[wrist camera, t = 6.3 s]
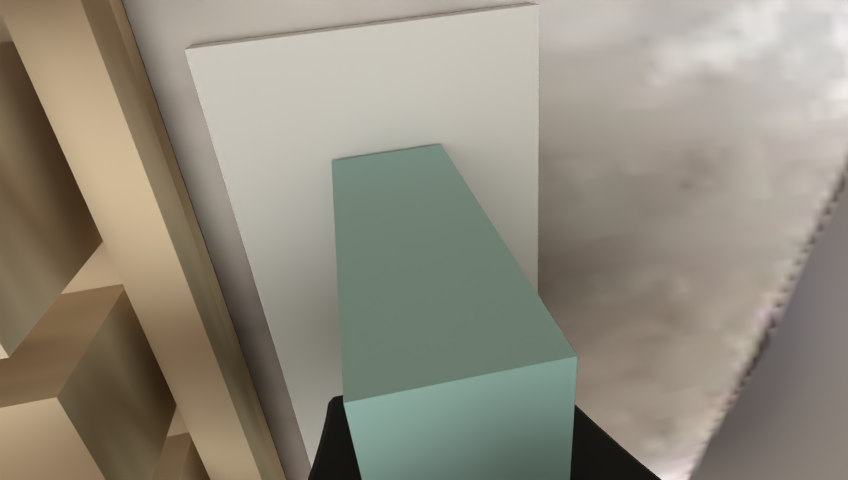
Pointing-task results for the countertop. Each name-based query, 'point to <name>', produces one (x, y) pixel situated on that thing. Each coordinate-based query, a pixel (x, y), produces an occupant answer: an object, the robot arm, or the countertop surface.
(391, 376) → the board
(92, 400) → the block
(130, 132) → the rack
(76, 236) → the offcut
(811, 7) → the countertop surface
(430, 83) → the mat
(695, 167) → the countertop surface
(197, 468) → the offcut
